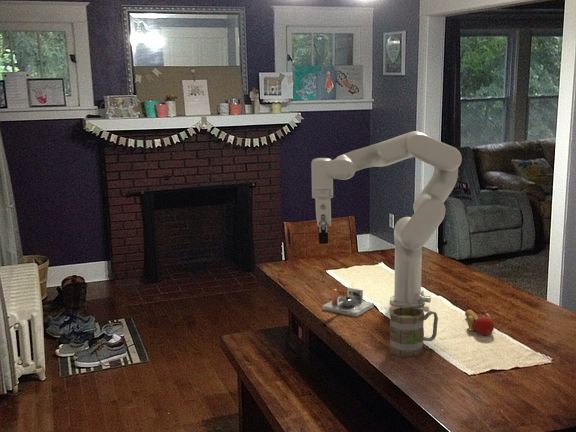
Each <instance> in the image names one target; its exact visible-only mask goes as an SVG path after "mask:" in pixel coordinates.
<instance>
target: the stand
mask: <svg viewBox="0 0 576 432" xmlns="http://www.w3.org/2000/svg"><path fill="white" fill-rule="evenodd" d="M346 289H347V291H346V293H347V294H346V295H347V296H350V297H354V298H355V299H356V304H355V305H354V306H351V307H344V306H339V307H337V308H335V309H334V308H332V306H333V305H332V300H330V301H329V302H326V303H325V304H323V305H322V311H323V310H324V311H328V312H333V313H337V314H341V315H346V316H351V317H355V318H358V317H359V316H361V315H362V314H364V313H366V312H367V311H369V310H371V309H373V308H374V306H375V305H374V302H371V301H366V300H364V290H363V289H359V288H356V287H355V288H354V287H347V288H346ZM340 297H342V296H338V303H339V298H340Z"/></svg>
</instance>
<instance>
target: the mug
mask: <svg viewBox="0 0 576 432" xmlns="http://www.w3.org/2000/svg"><path fill="white" fill-rule="evenodd" d="M432 315H433V322H432V323H433V324H432V326H433V327H432V328H433V329H432V334H431V336H430V337H426V336H425V331H424V329H425V328H424V327H425V326H424V322H425V321H426V320H428V318H429V317H430V316H432ZM389 316H390V320H389V345H388V346H389V347H388V349H389V353H391V354H393V355H396V356H398V357H408V358H410V357H411V358H414V357H415V358H416V357H417V356H420V355H423V354H424V342H432V341H434V340H436V337H437V333H438V332H437V331H438V321H439V317H438V314H437V312H435V311H432V310H430V311H427V312H426V313H425V312H424V309H421V308H418V307H408V306H396V307H394V308H389Z"/></svg>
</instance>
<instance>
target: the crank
mask: <svg viewBox="0 0 576 432" xmlns="http://www.w3.org/2000/svg"><path fill="white" fill-rule="evenodd" d="M338 291H339V290H338V289H337V288H332V289H331V301H332V305H333V306H332V308H334V309H335V308H337V307H339V306H344V307H351V306H354V305H355V304H356V299H355V298H354V297H350V296H346V295H345V296H341V297H340V296H339V295H338V294H339V292H338ZM338 297H340V298H339V303H338Z"/></svg>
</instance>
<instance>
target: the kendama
mask: <svg viewBox="0 0 576 432" xmlns="http://www.w3.org/2000/svg"><path fill="white" fill-rule="evenodd" d="M464 316H465V317H466V321H467V326H468V328H469V330H470V329H471V330H470V331H476V333H478V334H479V335H482V336H488V335H490V334H492V333H493V332H494V329H495V323H494V321H493V320H492V318H491V315H490V314H489V313H485V314H484V315H482V316H478V315H477V314H476V313H475V312H474V311H473V310H472V309H467V310H466V311H465V312H464Z"/></svg>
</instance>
